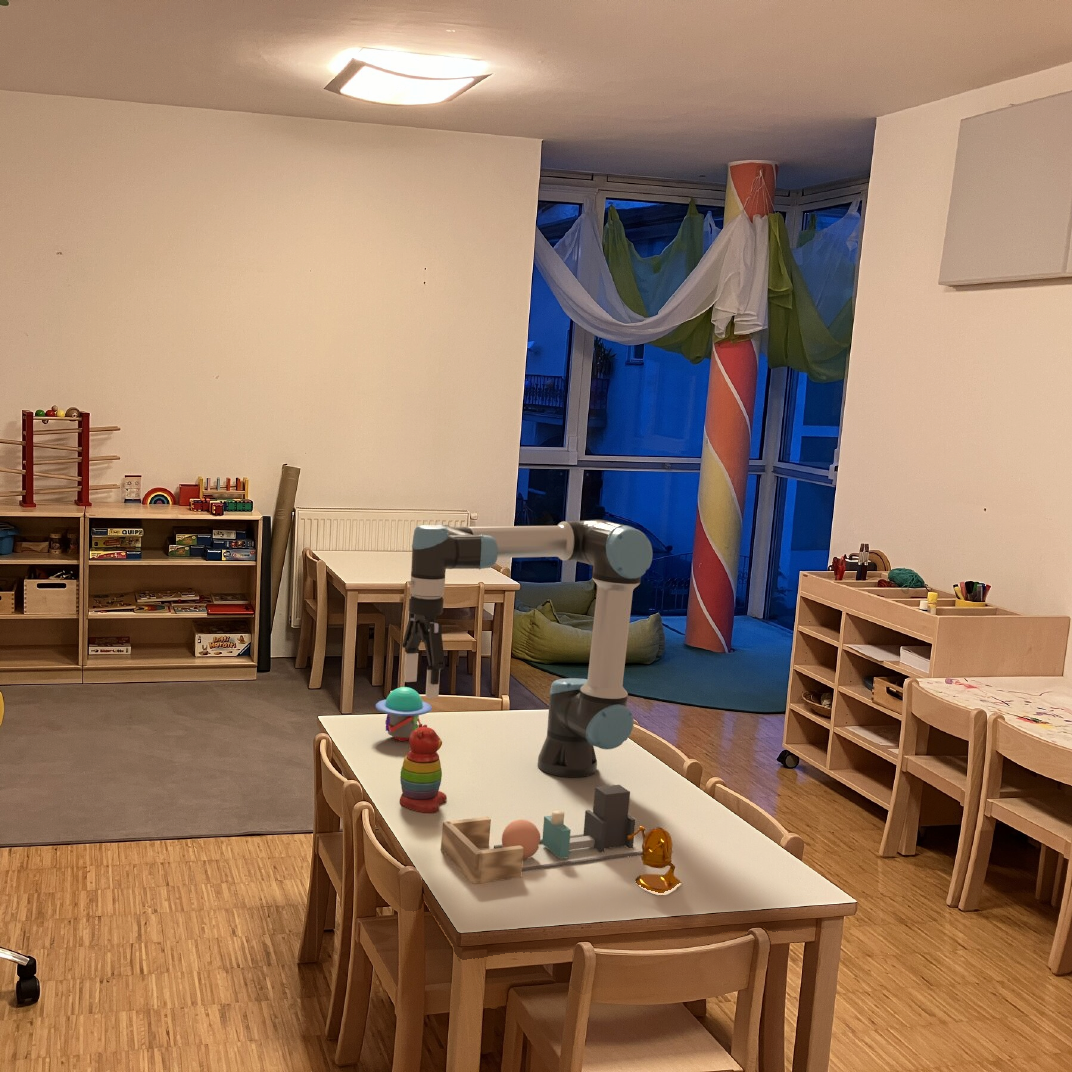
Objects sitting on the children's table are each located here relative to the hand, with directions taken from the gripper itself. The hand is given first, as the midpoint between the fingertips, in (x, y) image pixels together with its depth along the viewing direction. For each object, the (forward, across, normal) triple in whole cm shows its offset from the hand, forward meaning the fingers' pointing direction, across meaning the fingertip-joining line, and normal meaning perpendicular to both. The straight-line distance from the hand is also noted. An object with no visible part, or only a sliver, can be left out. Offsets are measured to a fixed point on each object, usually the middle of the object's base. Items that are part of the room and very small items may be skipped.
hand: (420, 689), depth 256 cm
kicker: (+27, +32, +28) cm, 50 cm away
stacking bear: (+28, -2, +2) cm, 28 cm away
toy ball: (+28, +32, +11) cm, 44 cm away
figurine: (+28, +52, +32) cm, 67 cm away
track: (+27, +32, +23) cm, 48 cm away
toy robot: (+28, -47, +14) cm, 56 cm away
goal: (+27, +32, +3) cm, 42 cm away
